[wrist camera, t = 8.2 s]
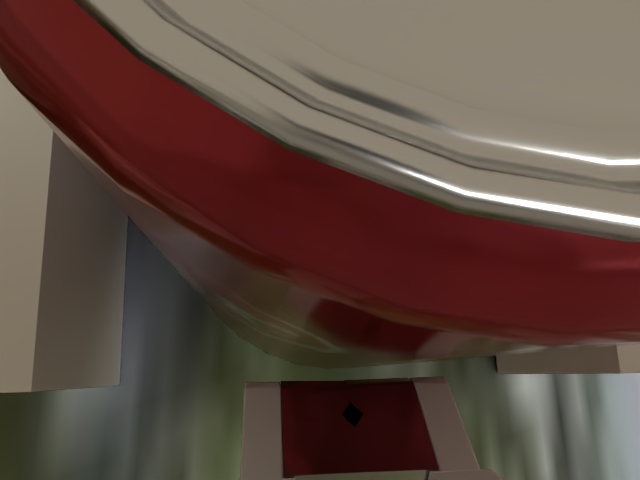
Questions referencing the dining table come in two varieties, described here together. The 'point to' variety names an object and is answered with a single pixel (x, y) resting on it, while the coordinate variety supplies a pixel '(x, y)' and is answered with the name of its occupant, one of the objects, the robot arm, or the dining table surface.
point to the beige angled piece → (107, 271)
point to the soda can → (363, 162)
